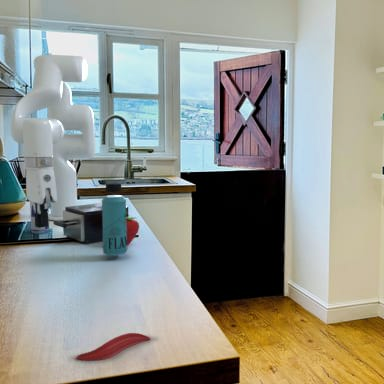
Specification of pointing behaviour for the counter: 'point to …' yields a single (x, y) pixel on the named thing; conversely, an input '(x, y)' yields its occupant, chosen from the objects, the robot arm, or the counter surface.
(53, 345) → the counter surface
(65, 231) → the drawer
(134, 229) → the strawberry
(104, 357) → the cayenne pepper
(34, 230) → the energy drink
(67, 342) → the counter surface
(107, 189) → the beverage bottle
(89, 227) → the cabinet
